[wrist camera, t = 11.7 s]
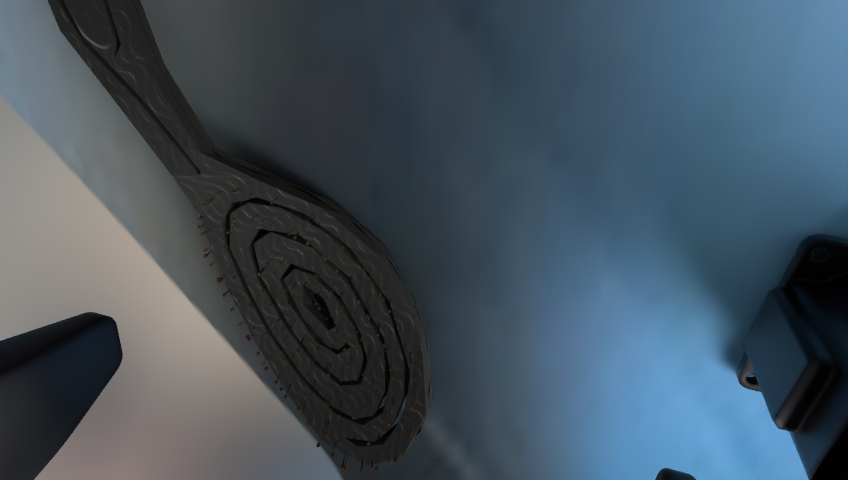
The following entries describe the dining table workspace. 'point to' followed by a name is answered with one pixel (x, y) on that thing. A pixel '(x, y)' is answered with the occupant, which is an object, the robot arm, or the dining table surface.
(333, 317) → the hairbrush
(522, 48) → the dining table surface
